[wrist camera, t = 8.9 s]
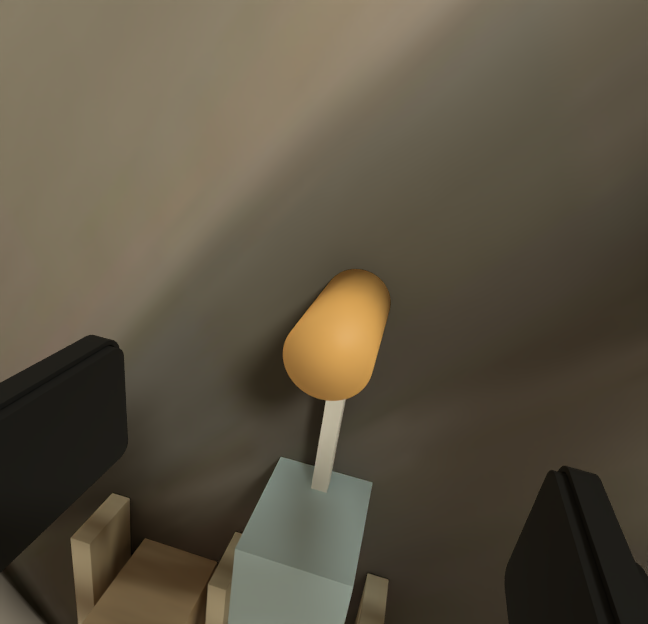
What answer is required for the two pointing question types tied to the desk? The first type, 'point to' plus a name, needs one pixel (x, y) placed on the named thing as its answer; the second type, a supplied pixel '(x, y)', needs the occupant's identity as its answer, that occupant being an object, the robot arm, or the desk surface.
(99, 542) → the shelf lanes
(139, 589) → the plain block
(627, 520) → the desk surface
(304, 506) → the block
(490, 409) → the desk surface
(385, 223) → the desk surface
